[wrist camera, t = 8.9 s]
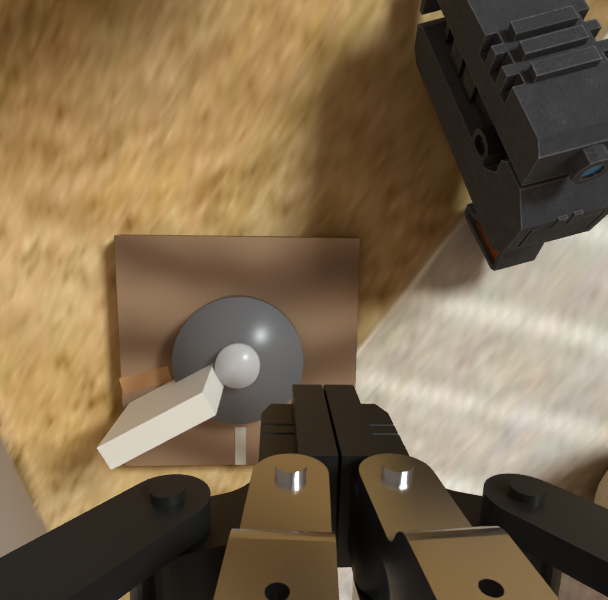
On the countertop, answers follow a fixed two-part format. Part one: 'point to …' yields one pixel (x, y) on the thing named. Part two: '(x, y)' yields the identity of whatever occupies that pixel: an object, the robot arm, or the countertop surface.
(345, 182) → the countertop surface
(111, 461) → the dial
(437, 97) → the tool
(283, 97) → the countertop surface
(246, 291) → the dial plate
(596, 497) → the vase
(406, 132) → the countertop surface
